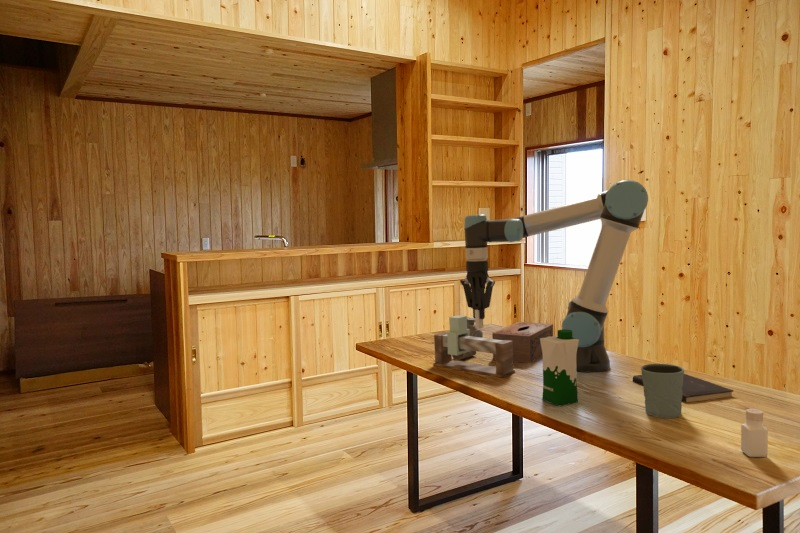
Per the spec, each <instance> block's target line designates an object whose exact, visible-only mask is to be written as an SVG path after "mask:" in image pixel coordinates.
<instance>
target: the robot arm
mask: <svg viewBox="0 0 800 533" xmlns="http://www.w3.org/2000/svg"><path fill="white" fill-rule="evenodd" d="M648 203H649V195H648V191H647V189H646V188H645V186H644V185H643V184H641V183H640V182H638V181H636V180H631V179H623V180H619V181H617V182H615V183H614V184H613V185H611V186H610V188H609V189H608V190H607V189H606V190H605V191H601V192H599V193H598V194H597V196H594V197H590V198H586V199H583V200H578V201H575V202H571V203H567V204H564V205H560V206H557V207H552V208H548V209H545V210H541V211H538V212H534V213H530V214H526V215H522V216H517V217H513V218H508V219H507V218H506V219H494V220H493V219H487V215H486V214H475V215H474V214H471V215H466V216H465V217H464V229H463V231H464V241H465V242H464V244H465V245H464V246H465V259H466V260H467V261H465V267H466V268H465V270H466V276H465V278H463V279H461V280H460V283H461V285H462V287H463V292H464V295H465V300H466V305H467V307H468V308H471V309H472V316H473V317H472V318H474V319H475V323H474V325H475V329H479V330H481V329H483V328H484V319H485V317H486V315H485V313H486V310H485V309H488V308H490V306H491V300H492V293H493V288H494V285H495V284H496V281H495V279H493V280H492V279H491V278H490V276H489V260H488V258H489V252H488V250H489V249H488V243H514V242H520V241H522V240H523V239H524V238H529V237H533V236H536V235H540V234H544V233H548V232H552V231H557V230H561V229H565V228H568V227H573V226H576V225H581V224H585V223H590V222H593V221H597V220H600V221H601V223H602V227H601V229H600V233H599V235H598V238H597V240H596V245H595V247H594V250H593V253H592V256H591V258H590V261H589V264H588V267H587V269H586V272H585V275H584V278H583V282H582V285H581V288H580V289H579V290H580V291H579V293H578V296H575V297H573V298H571V300H570V301H568V307H567V313H566V316H565V318H564V319H563V321H562V324H561V330H572V337H573V338H576V339H578V340H579V343H578V348H577V353H576V370H577V372H585V373H588V372H589V373H595V372H603V371H608V370H609V369H610V368H611V360H610V358H609V354H608V352H607V350H606V346H605V321H606V318H607V315H608V314H609V309H608V307H607V306H606V303H607V301H608V298H609V294H610V293H611V290H612V287H613V284H614V281H615V278H616V275H617V273H618V270H619V266H620V264H621V261H622V259H623V256H624V253H625V251H626V248H627V244H628V241H629V240H630V239H629V238H630V237H631V233H632V232H635V231H636V230H638V229H639V225H640V223H641V220H642V218H643V215H644V213H645V210H646V208H647V206H648Z"/></svg>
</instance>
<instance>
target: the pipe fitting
mask: <svg viewBox="0 0 800 533" xmlns="http://www.w3.org/2000/svg"><path fill="white" fill-rule="evenodd" d="M467 329H470V336H472V337H480V338H484V337H483V335H484V334H483V331H482V330H481V329H475V318H473V317H470V316H469V317H467Z"/></svg>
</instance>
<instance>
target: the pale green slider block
mask: <svg viewBox="0 0 800 533" xmlns="http://www.w3.org/2000/svg"><path fill="white" fill-rule="evenodd" d="M446 333H447V343H448V354H450V355H456V356H457V355H460V354H463V353H466V352H469V351H470V350H464V349H459V350H458V335H462V334H465V335H466V336H470V329H467V315H459V314H457V315H454V316H450V317H449V331H447V332H446Z"/></svg>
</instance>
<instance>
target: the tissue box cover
mask: <svg viewBox="0 0 800 533" xmlns="http://www.w3.org/2000/svg"><path fill="white" fill-rule="evenodd" d="M552 336H554V324H553V323H544V322H543V323H542V322H541V323H539V322H525V321H517V322H515V323H512V324H510V325H507V326H506V327H503V328H501V329H499V330H497V331H494V332H492V338H491V339H496V340H510V341H513V362H518V363H528V364H529V363H532V362H534V361H536V360H537V359H538V358H540V357H543V353H542V347H541V342H540V338H547V337H552ZM492 360H496V354H492Z"/></svg>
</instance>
